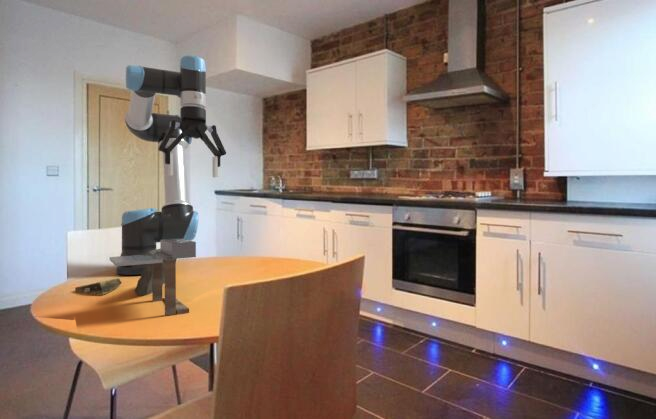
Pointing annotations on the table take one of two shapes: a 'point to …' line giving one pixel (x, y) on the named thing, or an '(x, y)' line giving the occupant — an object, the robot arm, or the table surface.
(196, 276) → the table surface
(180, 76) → the robot arm
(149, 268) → the marble piece
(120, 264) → the trapdoor
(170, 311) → the frame
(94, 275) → the table surface
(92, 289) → the rock
